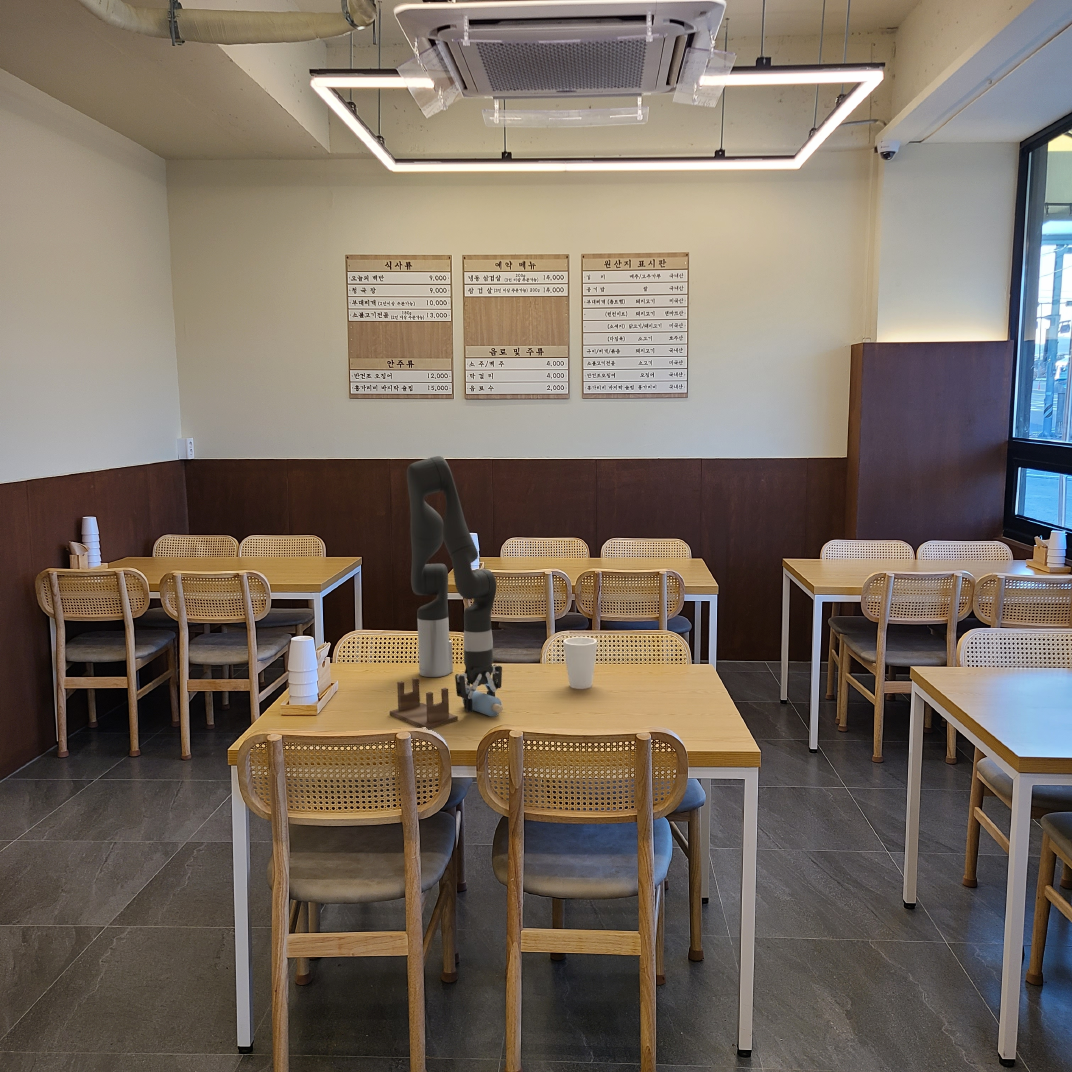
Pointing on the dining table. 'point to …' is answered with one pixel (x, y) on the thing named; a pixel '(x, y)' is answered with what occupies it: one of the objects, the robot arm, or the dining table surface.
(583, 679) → the foam cup
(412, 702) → the roll holder
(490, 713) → the towel roll
